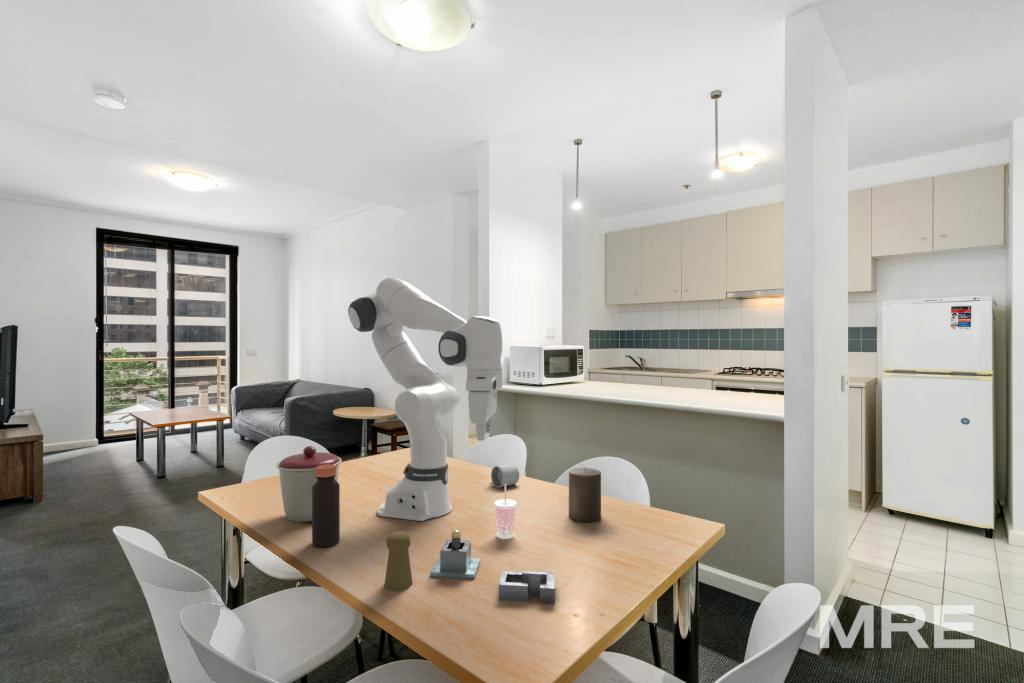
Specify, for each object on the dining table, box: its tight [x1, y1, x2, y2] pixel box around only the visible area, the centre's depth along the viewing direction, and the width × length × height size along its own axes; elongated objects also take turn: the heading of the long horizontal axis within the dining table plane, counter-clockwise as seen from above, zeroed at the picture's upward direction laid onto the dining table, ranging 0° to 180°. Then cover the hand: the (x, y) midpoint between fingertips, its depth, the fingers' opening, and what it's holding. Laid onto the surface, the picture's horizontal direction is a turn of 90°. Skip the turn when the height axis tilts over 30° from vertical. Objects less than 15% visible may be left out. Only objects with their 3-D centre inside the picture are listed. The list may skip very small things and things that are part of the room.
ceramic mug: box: [490, 464, 520, 489], centre depth 183 cm, size 11×8×8 cm
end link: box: [439, 539, 472, 572], centre depth 116 cm, size 6×6×4 cm
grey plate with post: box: [429, 529, 481, 580], centre depth 116 cm, size 10×8×9 cm
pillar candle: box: [568, 467, 602, 523], centre depth 150 cm, size 10×10×15 cm
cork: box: [384, 531, 413, 592], centre depth 109 cm, size 6×6×11 cm
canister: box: [276, 445, 342, 523], centre depth 150 cm, size 18×18×21 cm
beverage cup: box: [493, 484, 518, 540], centre depth 136 cm, size 6×6×14 cm
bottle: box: [311, 464, 341, 549], centre depth 131 cm, size 7×7×20 cm
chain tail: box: [498, 570, 556, 605], centre depth 105 cm, size 12×7×4 cm, turn 84°
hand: (484, 436), depth 125 cm, fingers open, 8 cm apart
